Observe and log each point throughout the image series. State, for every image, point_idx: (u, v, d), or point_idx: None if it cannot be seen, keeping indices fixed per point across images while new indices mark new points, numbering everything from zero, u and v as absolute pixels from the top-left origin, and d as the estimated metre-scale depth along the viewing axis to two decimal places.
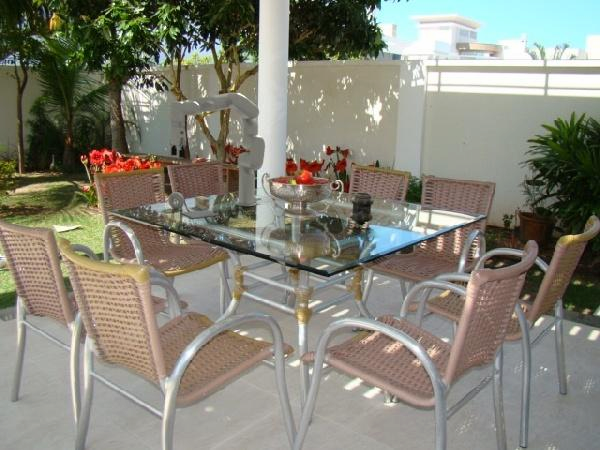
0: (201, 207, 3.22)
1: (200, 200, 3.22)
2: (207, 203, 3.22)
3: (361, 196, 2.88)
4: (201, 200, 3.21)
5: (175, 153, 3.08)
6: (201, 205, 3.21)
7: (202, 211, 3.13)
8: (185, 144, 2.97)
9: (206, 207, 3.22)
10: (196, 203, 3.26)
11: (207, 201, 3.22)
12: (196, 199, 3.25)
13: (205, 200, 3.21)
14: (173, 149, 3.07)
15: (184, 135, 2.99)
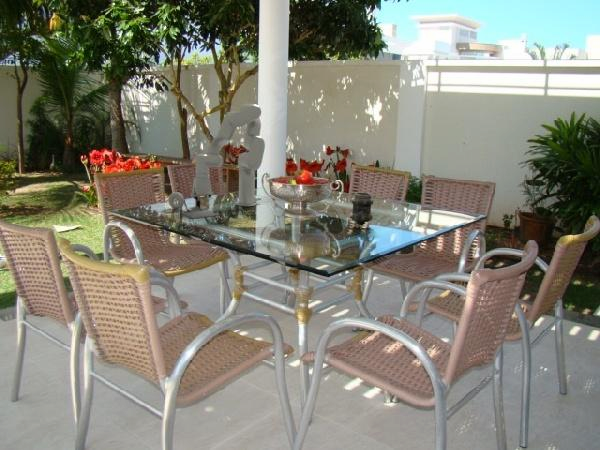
0: (201, 207, 3.22)
1: (200, 200, 3.22)
2: (207, 203, 3.22)
3: (361, 196, 2.88)
4: (201, 200, 3.21)
5: None
6: (201, 205, 3.21)
7: (202, 211, 3.13)
8: (211, 194, 3.28)
9: (206, 207, 3.22)
10: None
11: (207, 201, 3.22)
12: None
13: (205, 200, 3.21)
14: None
15: None
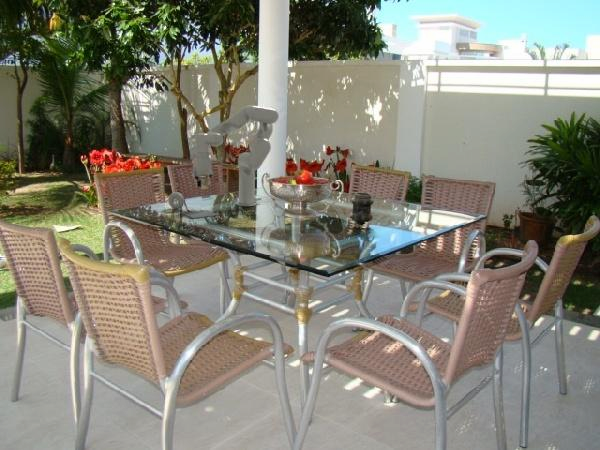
0: (202, 187, 3.19)
1: (201, 180, 3.19)
2: (208, 183, 3.20)
3: (361, 196, 2.88)
4: (202, 180, 3.18)
5: None
6: (202, 184, 3.19)
7: (202, 211, 3.13)
8: (212, 174, 3.26)
9: (207, 187, 3.20)
10: (196, 183, 3.24)
11: (207, 180, 3.19)
12: None
13: (206, 179, 3.18)
14: None
15: None
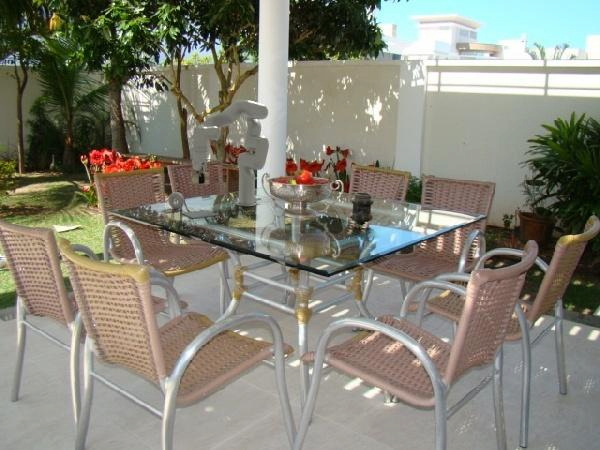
0: (206, 182, 3.06)
1: None
2: None
3: (361, 196, 2.88)
4: (206, 174, 3.05)
5: None
6: (206, 180, 3.05)
7: (202, 211, 3.13)
8: None
9: None
10: (195, 181, 3.02)
11: None
12: (196, 176, 3.02)
13: None
14: None
15: None
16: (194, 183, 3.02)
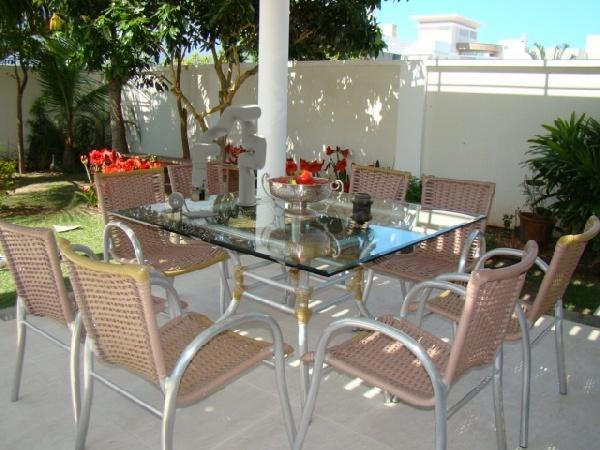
0: (206, 198, 3.05)
1: None
2: None
3: (361, 196, 2.88)
4: (206, 191, 3.04)
5: None
6: (206, 196, 3.05)
7: (202, 211, 3.13)
8: None
9: None
10: (196, 198, 3.01)
11: None
12: (196, 193, 3.01)
13: None
14: None
15: None
16: (195, 200, 3.01)
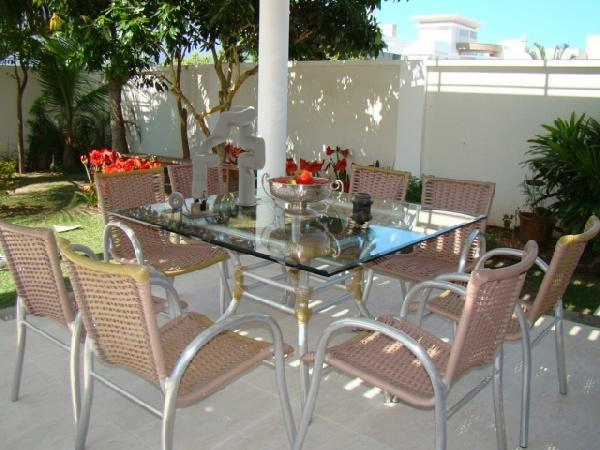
0: (207, 212, 3.07)
1: None
2: None
3: (361, 196, 2.88)
4: (207, 204, 3.06)
5: None
6: (207, 209, 3.07)
7: None
8: None
9: None
10: (196, 211, 3.03)
11: None
12: (197, 206, 3.03)
13: None
14: None
15: None
16: (195, 213, 3.03)
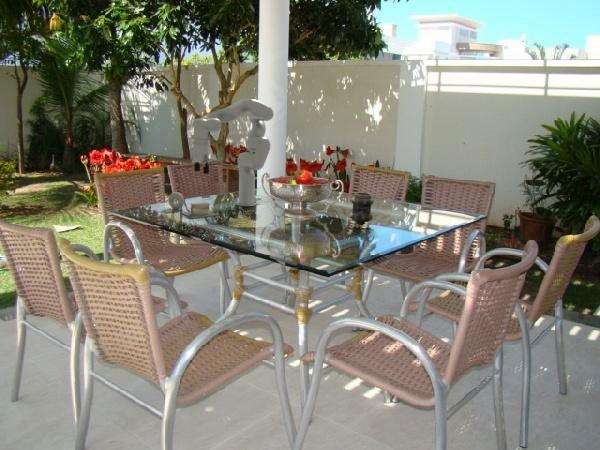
0: (207, 212, 3.07)
1: (205, 205, 3.06)
2: None
3: (361, 196, 2.88)
4: (207, 204, 3.06)
5: None
6: (207, 209, 3.07)
7: None
8: None
9: None
10: (196, 211, 3.03)
11: None
12: (197, 206, 3.03)
13: None
14: None
15: None
16: (195, 213, 3.03)
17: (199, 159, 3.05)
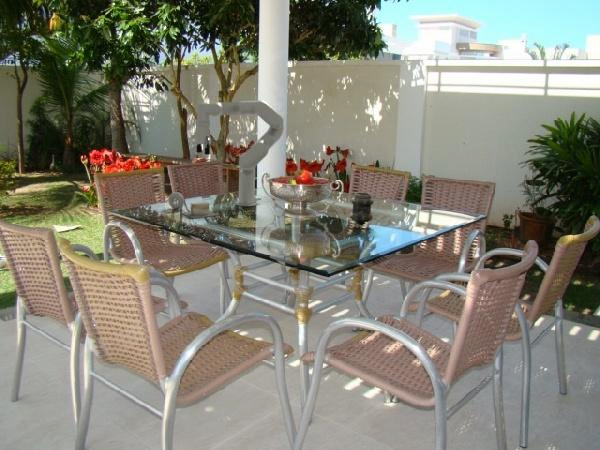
0: (207, 212, 3.07)
1: (205, 205, 3.06)
2: None
3: (361, 196, 2.88)
4: (207, 204, 3.06)
5: None
6: (207, 209, 3.07)
7: None
8: None
9: None
10: (196, 211, 3.03)
11: None
12: (197, 206, 3.03)
13: None
14: None
15: None
16: (195, 213, 3.03)
17: (201, 140, 3.24)
